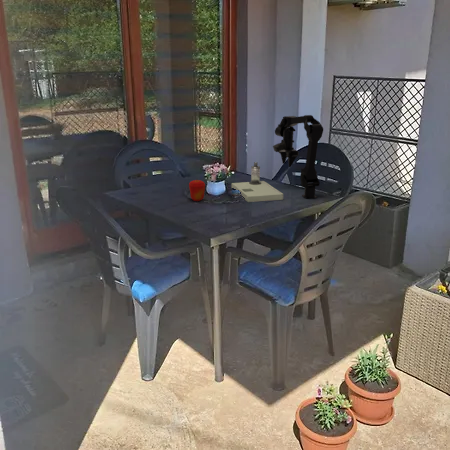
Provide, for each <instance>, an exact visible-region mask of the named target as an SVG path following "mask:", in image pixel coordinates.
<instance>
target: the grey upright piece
mask: <svg viewBox="0 0 450 450" xmlns="http://www.w3.org/2000/svg"><path fill="white" fill-rule="evenodd" d="M260 168H261V166H259V164H258V162H257V161H255V162H253V165H252V166H251V171H250V173H251V174H250V175H251V176H250V177H251V178H250V182H251V183H252V184H259V181H260V174H261V173H260V172H261V169H260Z"/></svg>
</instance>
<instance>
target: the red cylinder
mask: <svg viewBox="0 0 450 450" xmlns="http://www.w3.org/2000/svg"><path fill="white" fill-rule="evenodd" d="M188 187H189V188H188V189H189V192H190V199H192V201H194V202H199V201H202V200H203V199H204V198H205V191H206V184H205V181H203V180H200V179H194V180H191V181H189V184H188Z"/></svg>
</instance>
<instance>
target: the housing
mask: <svg viewBox="0 0 450 450" xmlns="http://www.w3.org/2000/svg"><path fill="white" fill-rule="evenodd" d="M232 188H234V189H236V190H239V191H240V192H241V194H242V196H243V197H244V198H245V199H244V198H243V197H242V198H243V199H244V201H246V202H247V203H253V202H254V203H257V202H266V201H267V202H269V201H282V200H284V193H282V192H281V191H280V190H278V189H276V188H275V187H273V186H272V185H270V184H269V183H268V182H266V181H265V180H259V184H252V183H251V181H247V182H246V181H243V182H232V183H231V189H232Z"/></svg>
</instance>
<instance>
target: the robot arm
mask: <svg viewBox="0 0 450 450" xmlns="http://www.w3.org/2000/svg"><path fill="white" fill-rule="evenodd" d="M299 124H303V125H304V126H303V128H304V131H305V132H306V133H305V134H306V138H307V140H308V145H307V153H306V160H305V166H304V167H303V168H301V169H300V176H299V177H300V184H301V185H300V186H301V187H302V188H304V192H303V193H304V194H301V196H302V197H303V198H305V199H307V200H308V199H309V200H310V199H317V198H318V196H316V187H320V184H321V183H320V182H321V181H320V180H319V178H318V174H317V170H316V159H317V153H318V152H317V151H318V145H319V141H320V140H321V139H322V137H323V135H324V134H323V133H324V127H323V125H322V124H321V122H320V121H319V120H317V119H316V118H315V117H314V116H313V115H312V114H305V115H301V116H295V115H288V116H287V115H286V116H283V117H282V118H281V121H280V122H279V124H277V126H276V128H275V130H274V134H275V135H276V136H277V137H281V138H282V139H281V141H280V142H278V143H276V144H273V145H272V148H273V151H274V152H276V153H278V154H279V155H280V158H281V161H282V165H285V164H286V161H288V167H289V168H291V167H292V166H293V164H294V162H295V160H296V159H297V157H298V156H299V155H300V152H299V150H297V149H294V146H293V145H294V143H295V140H294V132H296V129H295V126H297V125H299Z"/></svg>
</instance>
